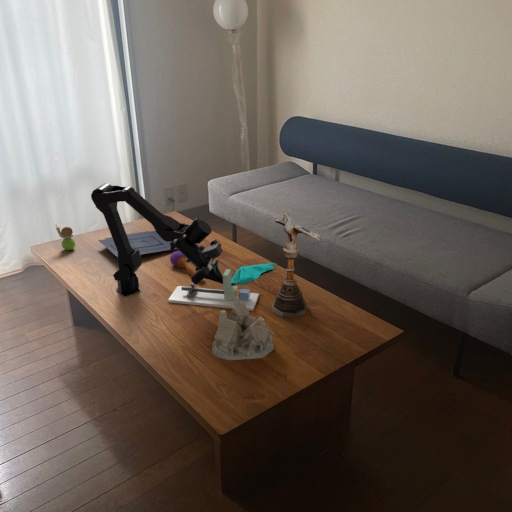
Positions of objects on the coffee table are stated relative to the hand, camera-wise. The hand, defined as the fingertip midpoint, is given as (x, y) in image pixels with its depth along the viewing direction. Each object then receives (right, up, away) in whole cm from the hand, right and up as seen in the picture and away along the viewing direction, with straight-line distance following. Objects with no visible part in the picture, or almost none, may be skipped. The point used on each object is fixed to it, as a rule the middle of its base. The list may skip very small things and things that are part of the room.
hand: (224, 282), depth 175 cm
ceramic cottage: (+7, -19, -22) cm, 30 cm away
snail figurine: (-69, +12, +42) cm, 82 cm away
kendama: (-16, +3, +23) cm, 28 cm away
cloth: (+9, +2, +22) cm, 24 cm away
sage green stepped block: (+2, -5, +2) cm, 6 cm away
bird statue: (+23, -8, 0) cm, 25 cm away
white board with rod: (-4, -6, +4) cm, 8 cm away
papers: (-38, +12, +44) cm, 59 cm away
